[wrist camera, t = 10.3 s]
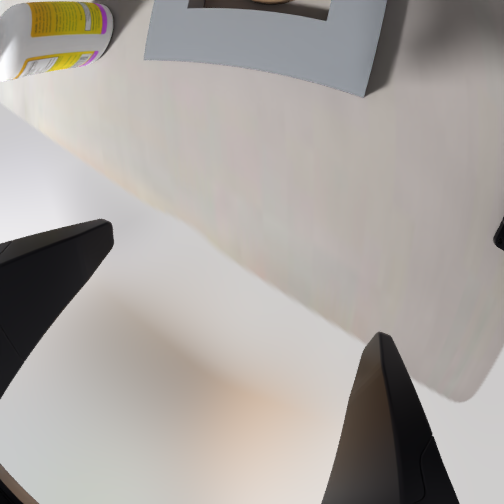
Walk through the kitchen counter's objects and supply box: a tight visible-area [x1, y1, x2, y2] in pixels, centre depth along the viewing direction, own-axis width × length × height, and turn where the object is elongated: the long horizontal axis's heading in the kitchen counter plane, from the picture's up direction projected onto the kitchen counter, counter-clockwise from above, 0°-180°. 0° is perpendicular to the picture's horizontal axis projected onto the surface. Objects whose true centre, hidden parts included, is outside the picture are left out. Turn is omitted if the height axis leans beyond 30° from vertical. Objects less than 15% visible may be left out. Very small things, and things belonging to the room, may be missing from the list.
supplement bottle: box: [0, 2, 113, 81], centre depth 12 cm, size 7×7×13 cm
